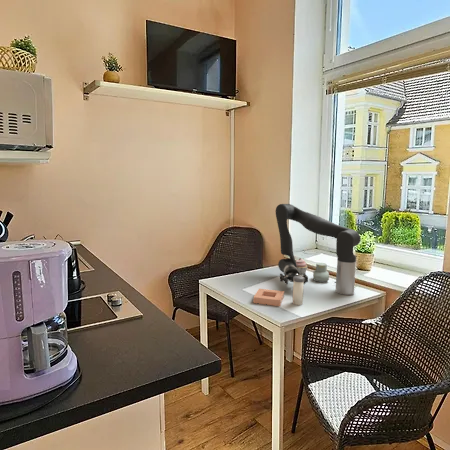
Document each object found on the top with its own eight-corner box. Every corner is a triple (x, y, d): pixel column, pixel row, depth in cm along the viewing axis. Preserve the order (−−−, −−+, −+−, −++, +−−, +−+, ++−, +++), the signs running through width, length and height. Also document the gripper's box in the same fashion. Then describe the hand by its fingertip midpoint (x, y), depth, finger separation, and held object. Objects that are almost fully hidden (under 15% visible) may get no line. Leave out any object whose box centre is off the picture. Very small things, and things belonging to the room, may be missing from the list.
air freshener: (312, 277, 220) (313, 261, 218) (327, 278, 218) (328, 261, 217) (313, 283, 209) (314, 266, 207) (328, 284, 208) (329, 266, 206)
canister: (303, 302, 180) (304, 276, 178) (302, 305, 175) (303, 279, 173) (292, 300, 182) (293, 275, 180) (291, 304, 177) (292, 278, 175)
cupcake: (289, 271, 230) (290, 256, 229) (303, 270, 232) (304, 255, 231) (296, 276, 221) (296, 260, 220) (310, 275, 224) (311, 259, 222)
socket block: (284, 296, 187) (284, 291, 186) (280, 306, 175) (280, 300, 174) (258, 294, 191) (259, 288, 190) (253, 303, 178) (253, 297, 178)
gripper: (278, 265, 201) (281, 274, 185) (304, 266, 200) (310, 275, 184) (277, 279, 202) (281, 289, 186) (303, 279, 202) (309, 289, 186)
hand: (295, 282), depth 185 cm, fingers open, 8 cm apart
